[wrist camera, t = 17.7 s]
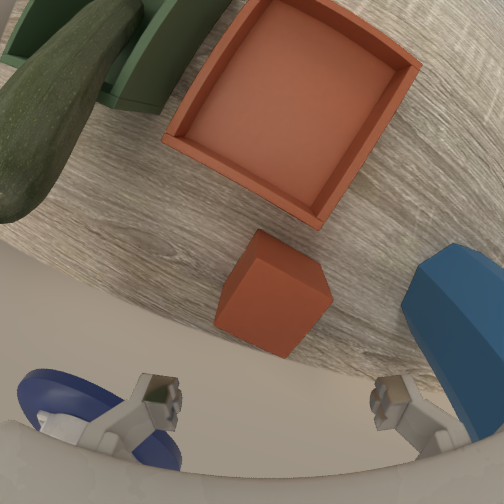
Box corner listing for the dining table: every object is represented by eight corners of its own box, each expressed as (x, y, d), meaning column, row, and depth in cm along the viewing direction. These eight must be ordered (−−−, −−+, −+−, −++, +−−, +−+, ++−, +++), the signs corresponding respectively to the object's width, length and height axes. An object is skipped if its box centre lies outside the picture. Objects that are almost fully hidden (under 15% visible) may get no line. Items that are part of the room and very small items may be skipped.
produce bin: (159, 115, 18) (113, 109, 12) (56, 70, 16) (-2, 61, 10) (238, -9, 14) (227, -59, 8) (123, -39, 13) (84, -75, 7)
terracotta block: (281, 315, 23) (285, 359, 18) (223, 285, 22) (212, 325, 17) (320, 263, 21) (334, 300, 16) (258, 227, 20) (256, 257, 16)
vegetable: (133, -38, 10) (-115, 293, 3) (186, -8, 13) (5, 351, 5) (102, 9, 13) (-75, 303, 6) (149, 35, 16) (11, 341, 8)
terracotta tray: (311, 217, 20) (318, 231, 17) (175, 140, 18) (159, 141, 15) (403, 71, 16) (423, 64, 13) (270, -9, 14) (271, -29, 11)
